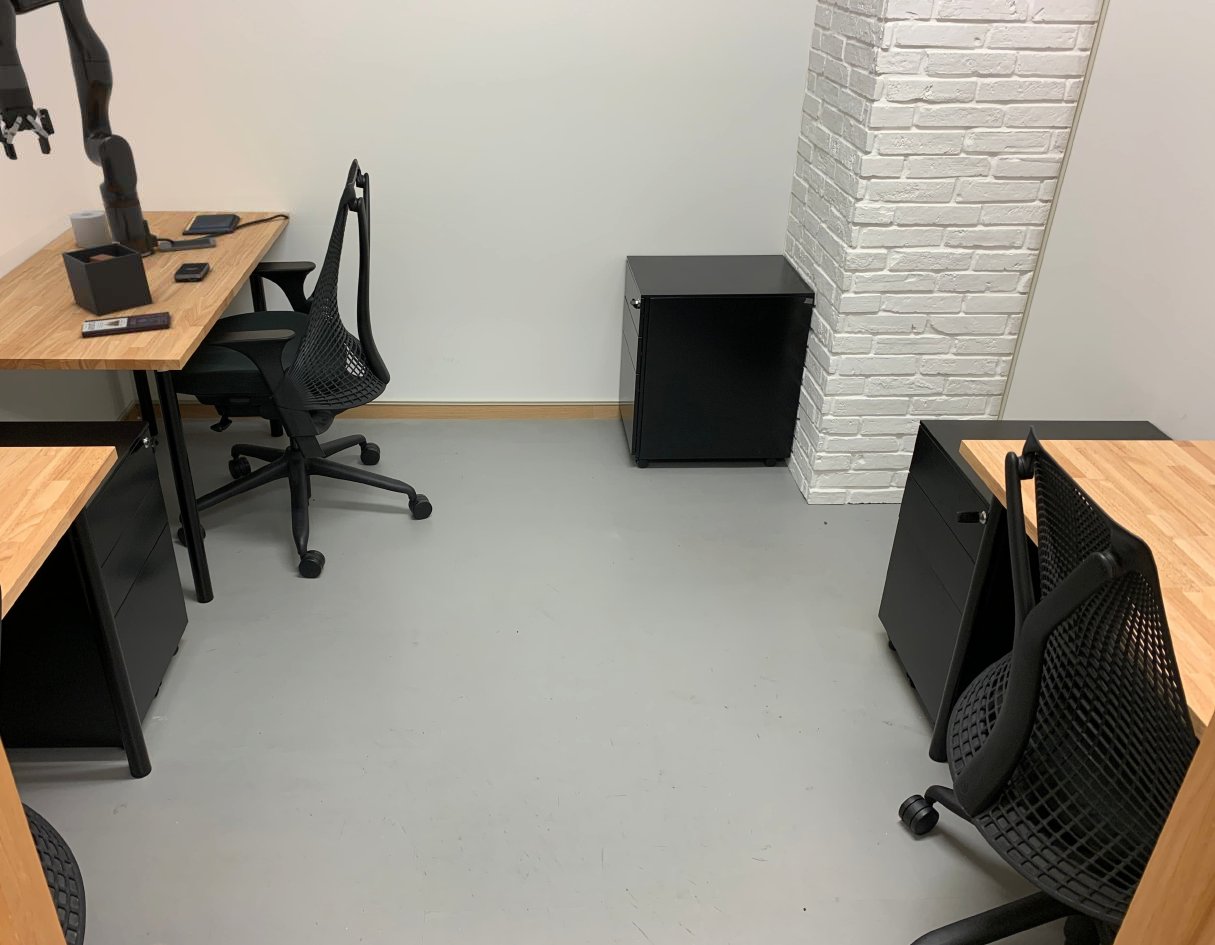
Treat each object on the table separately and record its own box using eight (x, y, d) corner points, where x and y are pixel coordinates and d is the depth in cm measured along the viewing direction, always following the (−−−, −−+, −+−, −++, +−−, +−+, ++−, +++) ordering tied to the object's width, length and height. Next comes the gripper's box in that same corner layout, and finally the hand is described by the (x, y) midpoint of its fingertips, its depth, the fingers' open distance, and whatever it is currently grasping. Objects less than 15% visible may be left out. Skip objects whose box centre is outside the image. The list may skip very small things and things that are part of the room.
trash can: (129, 291, 237) (117, 242, 231) (152, 303, 229) (140, 253, 223) (75, 303, 228) (61, 253, 222) (98, 316, 221) (84, 264, 215)
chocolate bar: (168, 324, 214) (81, 333, 208) (169, 327, 214) (82, 337, 208) (168, 311, 221) (84, 320, 215) (169, 315, 221) (85, 324, 215)
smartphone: (214, 239, 280) (213, 237, 280) (215, 246, 273) (215, 244, 273) (160, 244, 275) (159, 242, 274) (160, 251, 268) (160, 249, 268)
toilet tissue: (106, 235, 283) (98, 206, 279) (114, 245, 274) (107, 216, 270) (73, 239, 279) (65, 210, 275) (80, 249, 269) (72, 220, 265)
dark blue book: (231, 227, 286) (179, 229, 283) (232, 233, 286) (180, 235, 284) (240, 212, 303) (191, 213, 300) (242, 217, 304) (193, 219, 301)
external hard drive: (174, 282, 244) (172, 275, 243) (184, 270, 253) (182, 263, 252) (202, 281, 245) (200, 274, 244) (211, 269, 254) (209, 262, 253)
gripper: (-10, 89, 211) (12, 163, 219) (48, 83, 222) (66, 153, 230) (-30, 87, 214) (-8, 160, 222) (28, 81, 225) (47, 150, 233)
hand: (30, 156), depth 226 cm, fingers open, 8 cm apart
